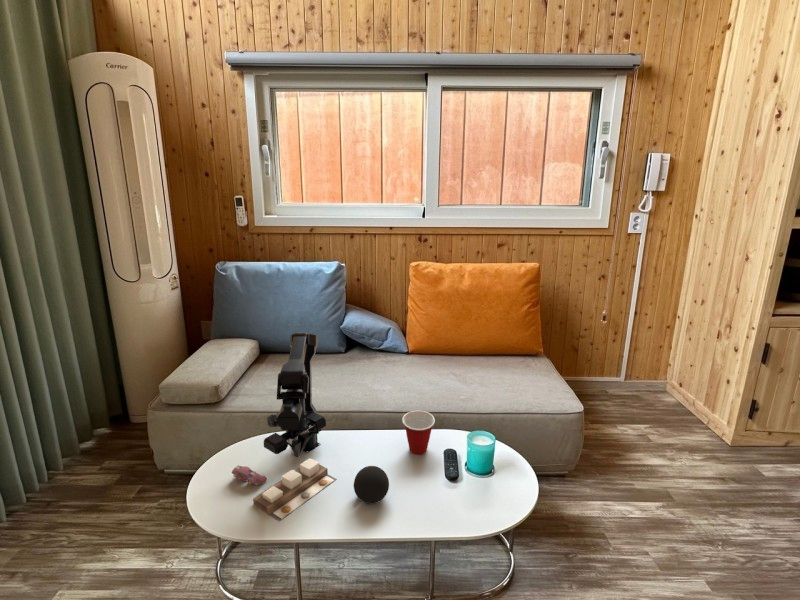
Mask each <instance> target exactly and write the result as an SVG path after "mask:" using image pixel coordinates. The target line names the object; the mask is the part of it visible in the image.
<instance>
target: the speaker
mask: <svg viewBox="0 0 800 600" xmlns="http://www.w3.org/2000/svg"><path fill="white" fill-rule="evenodd" d="M389 488H390V479H389V478H388V475H387V472H385V471H384V470H383V469H382V468H380V467H378V466H376V465H367V466H365V467H362V468H360V470H359V471H358V472H357V474H356V475H355V478H354V480H353V489H354V490H353V491H354V493H355V495H356V497H357V498H358V499H359V500H360V501H361V502H362V503H365V504H370V505H373V504H377V503H379V502H381V501H382V500H383V499H384V498H385V497H386V496H387V495H388V492H389Z"/></svg>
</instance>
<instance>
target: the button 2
mask: <svg viewBox="0 0 800 600" xmlns="http://www.w3.org/2000/svg"><path fill="white" fill-rule="evenodd" d="M319 464H320V462H318V461H316V460H314V459H312V458H308V459H307V460H305V461H303V462H301V463H300V464H299V468H300V473H302V474H304V475H306V476H307V477H309V478H310V477H311V476H313V475H314V474H315V473H317V472H318V471H319Z"/></svg>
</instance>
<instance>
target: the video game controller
mask: <svg viewBox="0 0 800 600" xmlns="http://www.w3.org/2000/svg"><path fill="white" fill-rule="evenodd" d="M231 474H232V475H233V478H234V479H237V478H238V479H239V480H241V481H243V482H247V483H248V485H250V486H255V485H263V484H265V483H266V482H267V481H268V477H267V476H266V475H264V474H263V475H262V474H260V473H258V472H257V471H255V470H252V469H251V468H250V467H249V466H246V465H245V466H243V465H237V466H235V467H234V468H233V469H232V471H231Z"/></svg>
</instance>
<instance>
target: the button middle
mask: <svg viewBox="0 0 800 600" xmlns="http://www.w3.org/2000/svg"><path fill="white" fill-rule="evenodd" d="M281 480H282V485H284V486H285V487H287V488H289V489H290V490H292V489H294V488H295V487H296V486H298V485H299V484H301V483H302V475H301V474H300V473H298V472H296V470H294V469H290V470H288V472H285V473H284V474H283V475H281Z"/></svg>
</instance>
